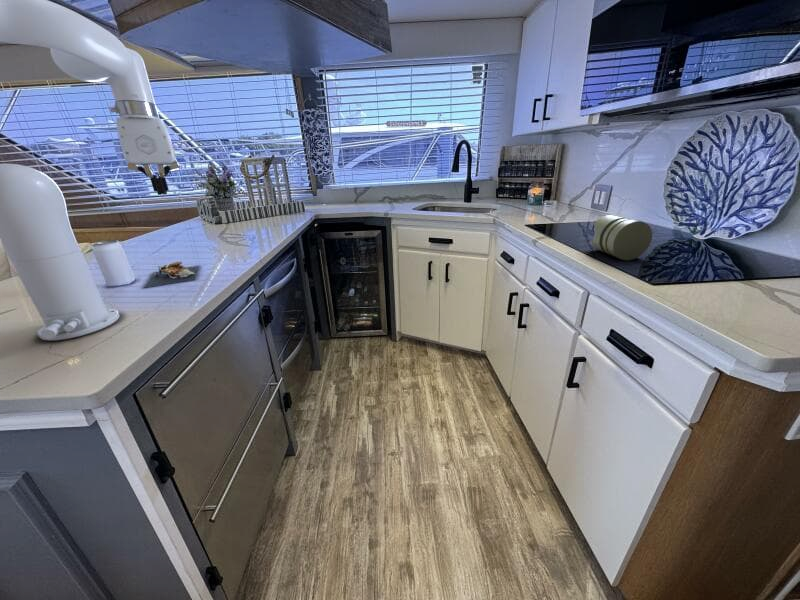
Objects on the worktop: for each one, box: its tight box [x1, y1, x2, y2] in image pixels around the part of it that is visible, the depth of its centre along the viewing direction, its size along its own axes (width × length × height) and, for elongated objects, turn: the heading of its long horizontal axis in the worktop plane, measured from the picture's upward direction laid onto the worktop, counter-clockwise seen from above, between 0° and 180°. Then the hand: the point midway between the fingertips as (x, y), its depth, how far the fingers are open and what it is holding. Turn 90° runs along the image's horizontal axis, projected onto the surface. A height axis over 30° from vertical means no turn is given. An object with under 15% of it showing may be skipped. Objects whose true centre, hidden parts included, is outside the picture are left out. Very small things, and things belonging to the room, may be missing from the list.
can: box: [91, 239, 136, 288], centre depth 91 cm, size 6×6×12 cm
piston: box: [588, 214, 653, 261], centre depth 98 cm, size 11×12×11 cm
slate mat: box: [143, 265, 199, 289], centre depth 98 cm, size 16×12×1 cm
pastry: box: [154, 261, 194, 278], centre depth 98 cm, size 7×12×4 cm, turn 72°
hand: (162, 194), depth 83 cm, fingers closed
